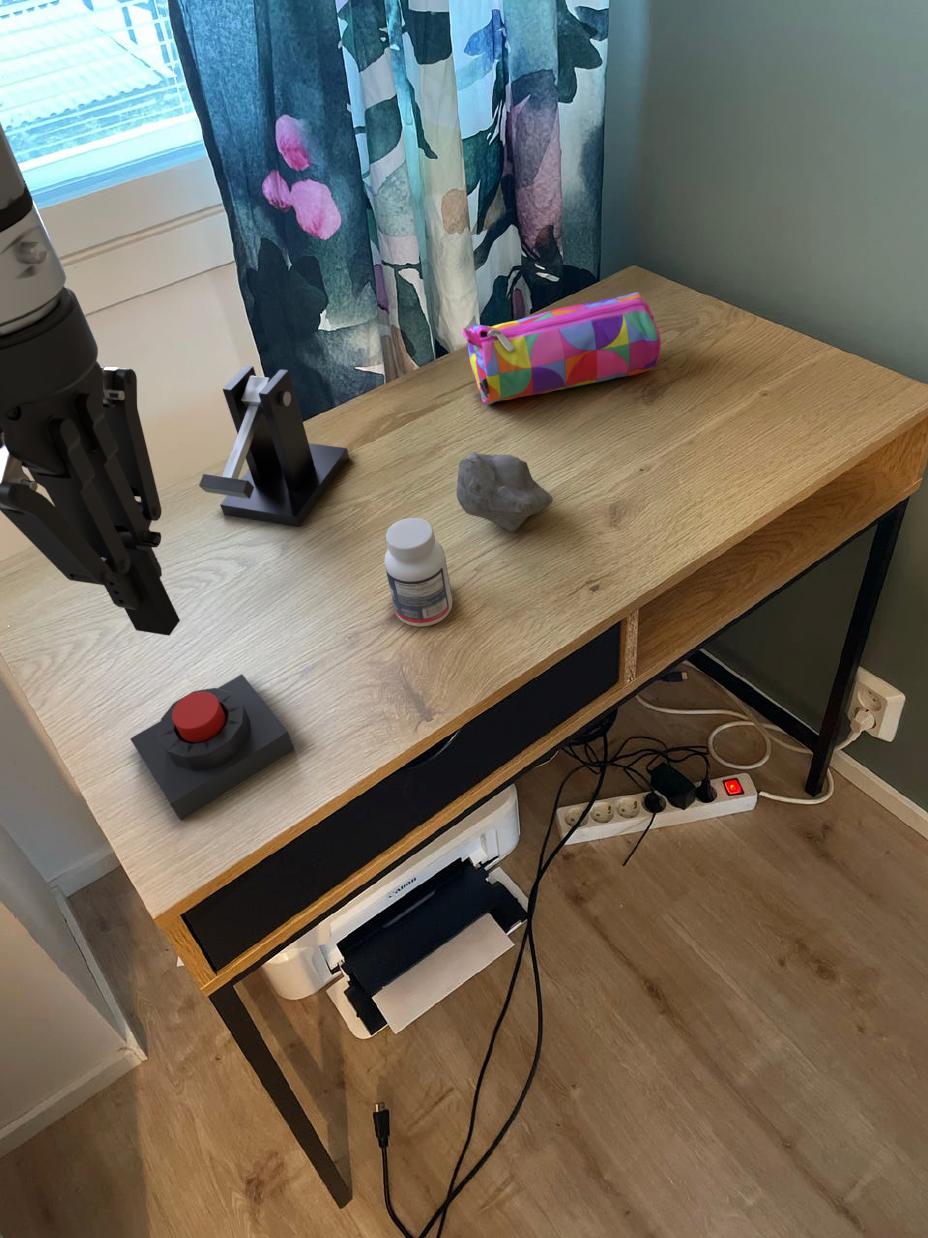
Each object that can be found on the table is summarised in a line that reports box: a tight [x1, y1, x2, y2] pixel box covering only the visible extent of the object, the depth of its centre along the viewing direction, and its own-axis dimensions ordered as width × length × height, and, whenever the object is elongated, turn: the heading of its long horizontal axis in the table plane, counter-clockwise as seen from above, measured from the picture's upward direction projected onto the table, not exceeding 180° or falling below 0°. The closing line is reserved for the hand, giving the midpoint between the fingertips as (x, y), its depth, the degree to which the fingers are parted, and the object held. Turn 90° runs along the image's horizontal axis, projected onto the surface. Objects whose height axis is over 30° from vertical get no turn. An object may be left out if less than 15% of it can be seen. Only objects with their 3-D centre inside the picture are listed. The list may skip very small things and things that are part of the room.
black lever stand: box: [219, 365, 350, 528], centre depth 91 cm, size 12×9×13 cm
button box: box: [129, 673, 296, 821], centre depth 70 cm, size 10×8×4 cm
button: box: [172, 692, 225, 742], centre depth 68 cm, size 4×4×2 cm
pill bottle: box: [384, 517, 453, 627], centre depth 77 cm, size 5×5×9 cm
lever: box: [198, 375, 272, 499], centre depth 87 cm, size 12×5×2 cm, turn 161°
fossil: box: [456, 451, 554, 532], centre depth 85 cm, size 11×9×8 cm
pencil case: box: [461, 291, 662, 405], centre depth 101 cm, size 22×9×9 cm, turn 103°
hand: (157, 625), depth 62 cm, fingers closed
